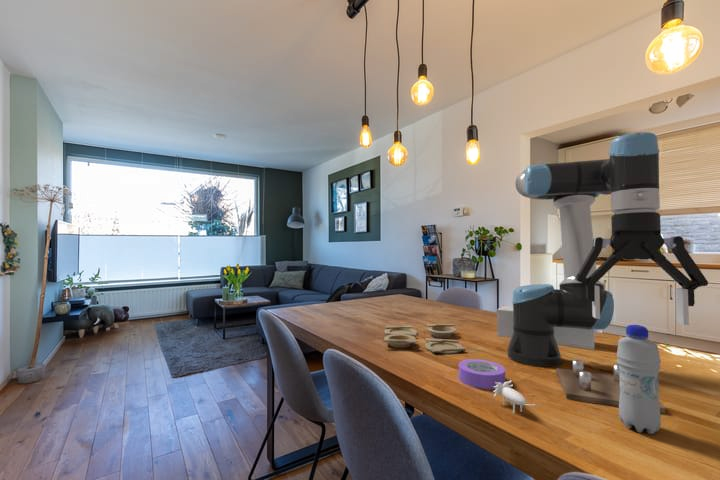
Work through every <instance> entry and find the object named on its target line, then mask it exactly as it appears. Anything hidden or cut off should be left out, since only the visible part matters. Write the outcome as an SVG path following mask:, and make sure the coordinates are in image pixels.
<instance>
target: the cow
mask: <svg viewBox="0 0 720 480" xmlns="http://www.w3.org/2000/svg"><path fill="white" fill-rule="evenodd" d="M512 381H513V380H511V379H510V380H509V381H505V383H504V384H502V383H500V382H498V383H496V382H495V383H496V384H497V385H496V386H493V387H494V388H497V389H494V390H493V391H492V392H493V393H494V394H493V397H497V396H498V395H499V394H501V395H502V406H503V407H505V406H506V400H508V401H509V405H510V406H512V413H513V414H515V413H516V405H518V406H519V407H520V408H519V412H520V413H522V412H523V406H530V407H531V406H532V407H536V406H537V405H536V404H535V403H533V404H530V403H529V404H528V403H527V399H526V398H525V396H523V395H522V394H521V393H520V392H519V391H517V390H515V389H513V388H512V387H513V384H512ZM505 399H506V400H505Z"/></svg>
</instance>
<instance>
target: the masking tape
mask: <svg viewBox="0 0 720 480" xmlns="http://www.w3.org/2000/svg"><path fill="white" fill-rule="evenodd" d="M458 380H459V381H460V382H461V383H463V384H464V385H467V386H469V387H472V388H475V389H476V388H477V389H483V390H495V389H497V388H494V387H493V386H496V385H497V384H496V383H498V382H500V383H502V384H504V383H505V382H506V369H505V367H504V366H503V365H501V364H499V363H497V362H494V361H491V360H485V359H477V358H474V359H473V358H472V359H470V358H469V359H464V360H462V361H460V362H459V363H458ZM495 382H496V383H495Z"/></svg>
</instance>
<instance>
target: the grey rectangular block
mask: <svg viewBox="0 0 720 480" xmlns="http://www.w3.org/2000/svg"><path fill="white" fill-rule="evenodd" d="M496 316H497V317H496V321H497V322H496V324H497V327H496V329H497V330H496V331H497V333H496V334H497V335H496V336H497V337H504V338H505V337H506V338H510V339H511V337H512V334H513V306H511V305H510V306H509V305H502V306H501V307H500V306H499V308H497V309H496ZM595 330H596V329H591V330H587V329H578V328H564V327H554V337H555V340H556V343H557V345H560V346H567V347H573V348H581V349H588V350H595V345H596V342H595V340H596V339H595V338H596V337H595Z"/></svg>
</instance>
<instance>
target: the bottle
mask: <svg viewBox="0 0 720 480" xmlns="http://www.w3.org/2000/svg"><path fill="white" fill-rule="evenodd" d="M625 333H626V336H625V337H622V338H619V340H618V343H617V351H616V358H617V359H616V362H617V364H619V376H620V398H619V407H618V416H619V418H620V421H621V422H622V424H624V425H625V427H626V428H627V429H629V430H632V429H633V426H634V427H635V430H636V432H638V433H640V434H641V433H643V430H645V429H646V433H647V434H648V435H653V434H655V433H657V432H659V430H660V428H661V426H662V425H661V423H662V419H661V413H660V407H659V402H660V394H659V386H660V385H659V371H660V370H661V362H662V360H661V356H660V351H659V346H658V344H657V343H656V342H654V341H652V340H650V339H649V330H648V328H647V327H645V326H643V325H639V324H629V325H627V326H626V329H625Z"/></svg>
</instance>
